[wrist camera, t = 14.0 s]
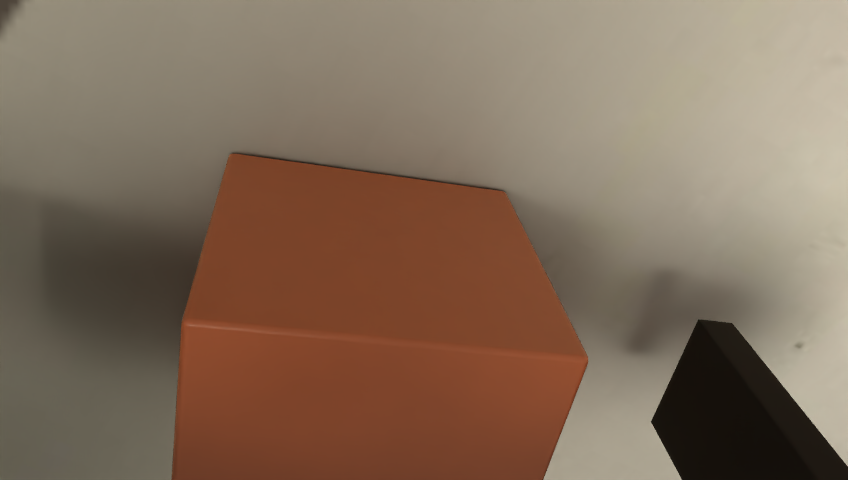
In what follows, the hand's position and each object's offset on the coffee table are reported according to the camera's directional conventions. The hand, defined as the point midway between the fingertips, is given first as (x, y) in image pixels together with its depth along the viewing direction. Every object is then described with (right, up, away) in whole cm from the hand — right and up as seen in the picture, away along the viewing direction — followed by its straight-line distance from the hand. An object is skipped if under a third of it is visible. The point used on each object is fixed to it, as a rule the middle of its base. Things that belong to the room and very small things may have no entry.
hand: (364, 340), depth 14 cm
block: (0, +1, +2) cm, 2 cm away
